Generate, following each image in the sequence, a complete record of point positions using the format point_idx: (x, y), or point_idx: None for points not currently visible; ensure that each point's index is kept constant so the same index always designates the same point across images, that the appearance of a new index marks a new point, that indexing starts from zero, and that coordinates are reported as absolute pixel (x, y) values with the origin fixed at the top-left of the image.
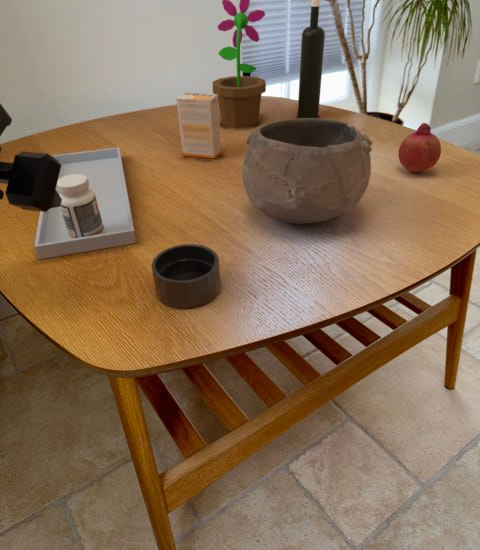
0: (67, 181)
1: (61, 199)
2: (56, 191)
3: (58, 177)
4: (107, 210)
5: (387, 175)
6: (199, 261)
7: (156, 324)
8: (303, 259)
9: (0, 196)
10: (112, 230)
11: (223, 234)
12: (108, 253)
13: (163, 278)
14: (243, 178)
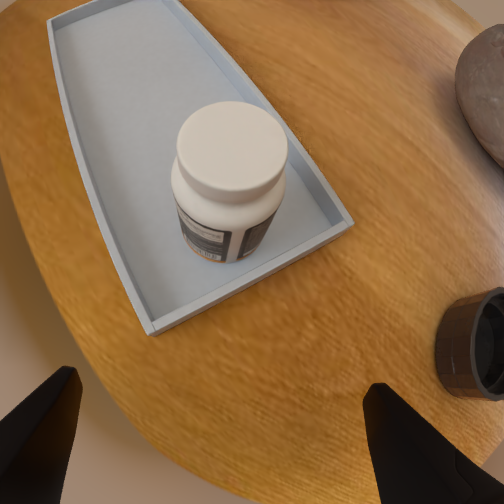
0: (222, 150)
1: (385, 385)
2: (431, 427)
3: (68, 53)
4: None
5: None
6: (488, 303)
7: (453, 435)
8: None
9: (77, 394)
10: None
11: (453, 191)
12: (304, 283)
13: (493, 397)
14: (495, 110)
